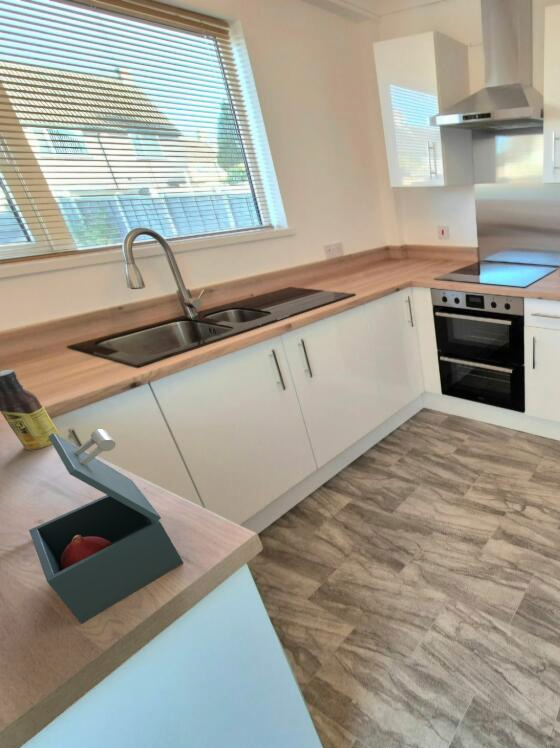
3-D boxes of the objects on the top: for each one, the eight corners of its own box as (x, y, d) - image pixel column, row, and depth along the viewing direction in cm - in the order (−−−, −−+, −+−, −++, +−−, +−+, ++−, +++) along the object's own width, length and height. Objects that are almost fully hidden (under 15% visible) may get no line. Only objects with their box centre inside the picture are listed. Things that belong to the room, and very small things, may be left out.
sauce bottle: (23, 453, 100) (-30, 377, 91) (56, 438, 105) (9, 365, 96) (38, 458, 98) (-15, 381, 89) (71, 443, 103) (24, 368, 94)
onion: (77, 598, 63) (48, 559, 59) (73, 576, 66) (45, 539, 63) (127, 572, 66) (102, 534, 63) (120, 553, 70) (97, 516, 66)
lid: (69, 473, 55) (109, 443, 57) (47, 436, 64) (83, 411, 66) (156, 522, 64) (188, 494, 67) (127, 483, 73) (156, 460, 75)
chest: (81, 624, 60) (46, 581, 56) (59, 570, 69) (28, 529, 65) (183, 563, 68) (160, 522, 64) (153, 521, 77) (131, 483, 73)
